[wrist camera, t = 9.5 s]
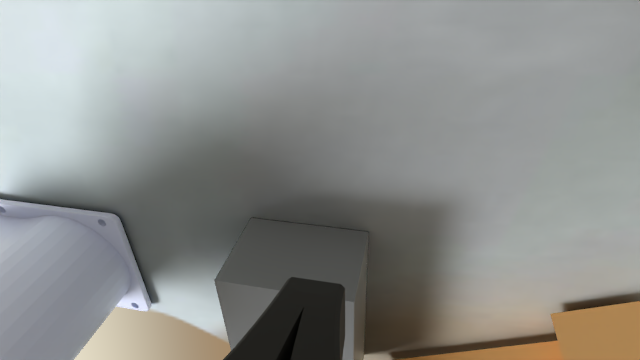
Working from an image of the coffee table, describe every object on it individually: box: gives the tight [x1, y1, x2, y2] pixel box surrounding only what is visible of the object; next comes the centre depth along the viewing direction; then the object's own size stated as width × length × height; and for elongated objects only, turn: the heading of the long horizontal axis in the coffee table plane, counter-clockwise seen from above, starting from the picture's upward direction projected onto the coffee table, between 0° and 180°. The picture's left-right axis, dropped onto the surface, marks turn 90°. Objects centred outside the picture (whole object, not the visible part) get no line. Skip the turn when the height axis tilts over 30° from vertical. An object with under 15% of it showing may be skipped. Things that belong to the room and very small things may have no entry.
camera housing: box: [214, 218, 369, 360], centre depth 22 cm, size 6×10×6 cm, turn 2°
